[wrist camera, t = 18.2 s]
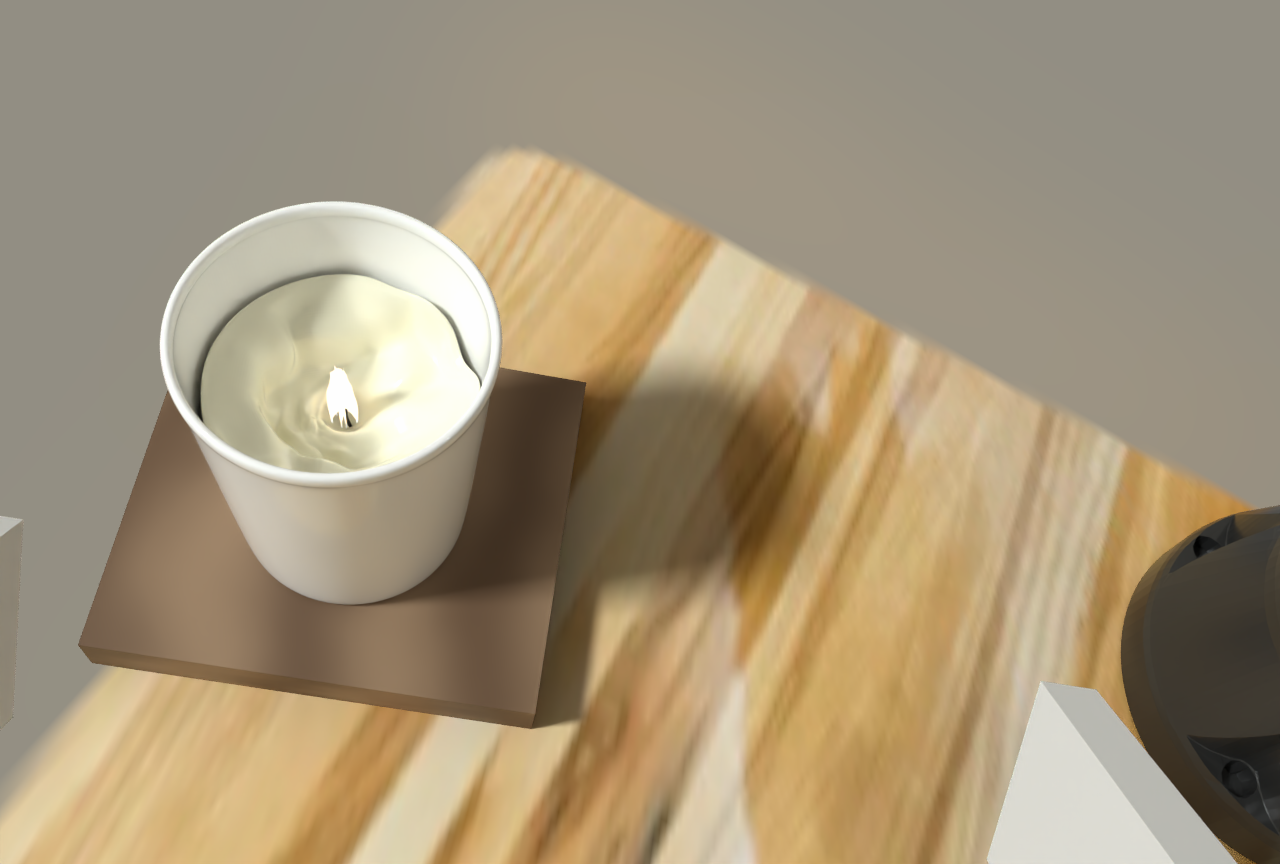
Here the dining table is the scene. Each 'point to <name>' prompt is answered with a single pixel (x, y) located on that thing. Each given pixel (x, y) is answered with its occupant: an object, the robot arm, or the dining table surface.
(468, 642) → the walnut board
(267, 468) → the candle holder
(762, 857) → the dining table surface
